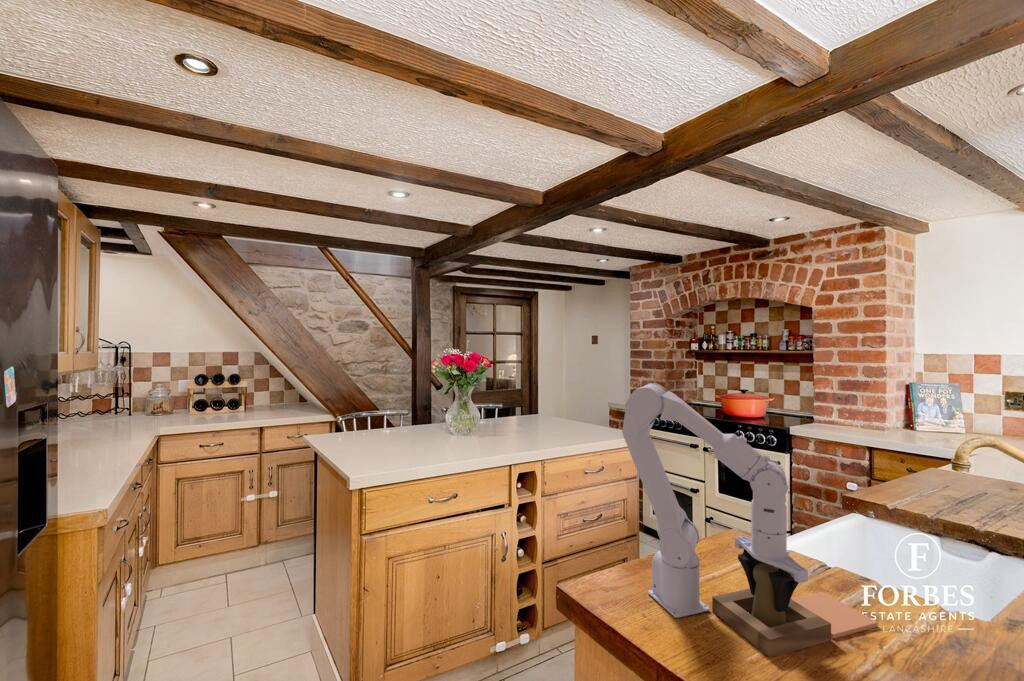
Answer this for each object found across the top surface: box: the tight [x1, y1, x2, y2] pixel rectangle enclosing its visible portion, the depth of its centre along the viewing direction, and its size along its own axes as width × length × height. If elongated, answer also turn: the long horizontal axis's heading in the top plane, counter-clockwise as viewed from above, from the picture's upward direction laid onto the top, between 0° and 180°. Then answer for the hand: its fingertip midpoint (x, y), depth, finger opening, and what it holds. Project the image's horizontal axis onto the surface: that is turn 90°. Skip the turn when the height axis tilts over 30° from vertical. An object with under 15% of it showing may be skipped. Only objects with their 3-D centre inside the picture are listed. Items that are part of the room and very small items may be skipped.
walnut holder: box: [711, 588, 832, 658], centre depth 88 cm, size 14×14×3 cm
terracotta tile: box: [791, 591, 879, 640], centre depth 91 cm, size 11×11×1 cm
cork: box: [751, 563, 788, 628], centre depth 88 cm, size 6×6×11 cm
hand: (768, 601), depth 88 cm, fingers closed on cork, 5 cm apart
